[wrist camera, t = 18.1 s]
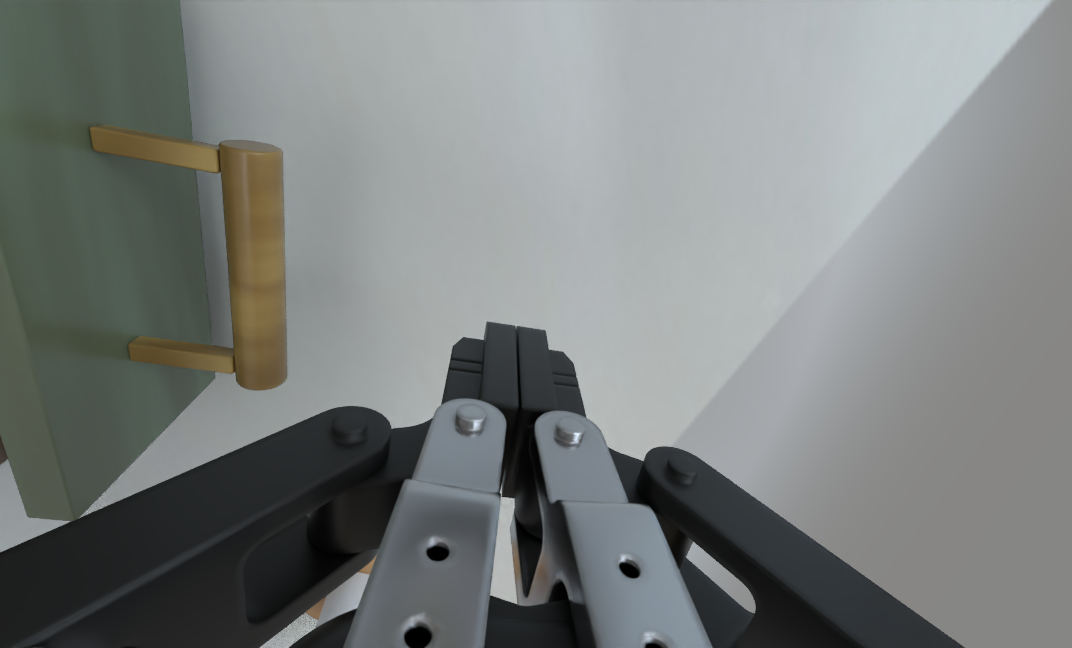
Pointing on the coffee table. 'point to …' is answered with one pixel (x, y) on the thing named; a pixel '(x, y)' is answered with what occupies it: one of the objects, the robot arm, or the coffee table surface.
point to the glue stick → (343, 598)
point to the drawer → (117, 246)
